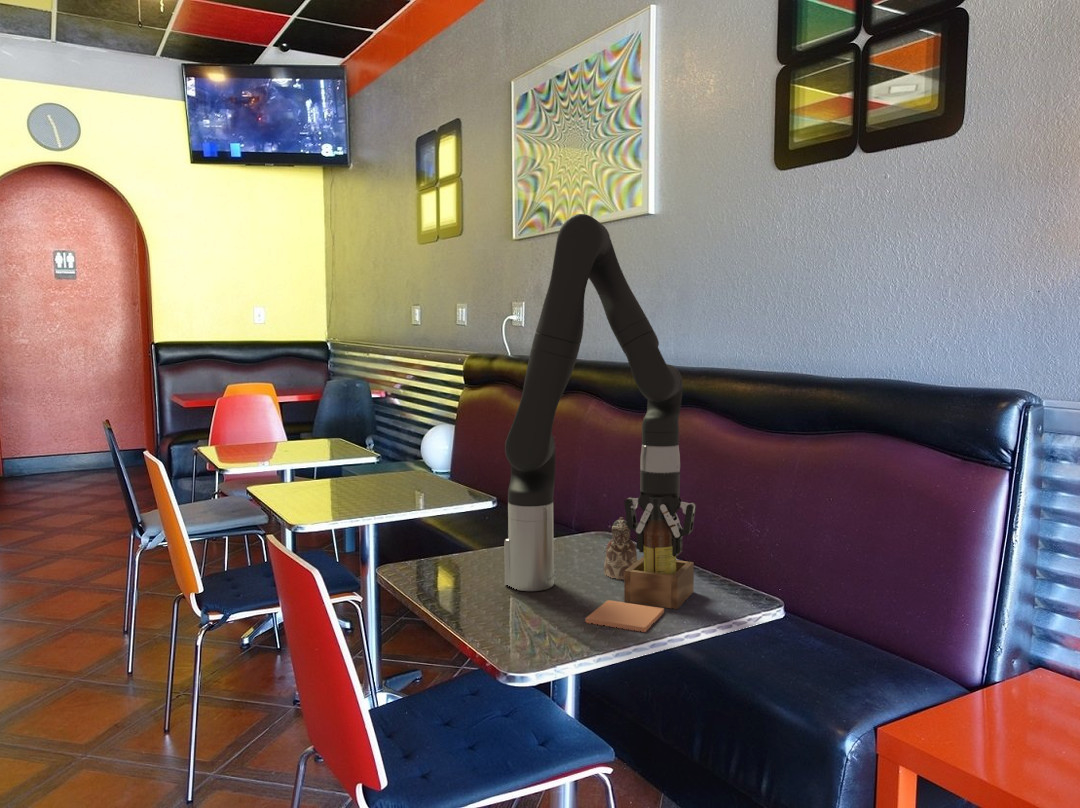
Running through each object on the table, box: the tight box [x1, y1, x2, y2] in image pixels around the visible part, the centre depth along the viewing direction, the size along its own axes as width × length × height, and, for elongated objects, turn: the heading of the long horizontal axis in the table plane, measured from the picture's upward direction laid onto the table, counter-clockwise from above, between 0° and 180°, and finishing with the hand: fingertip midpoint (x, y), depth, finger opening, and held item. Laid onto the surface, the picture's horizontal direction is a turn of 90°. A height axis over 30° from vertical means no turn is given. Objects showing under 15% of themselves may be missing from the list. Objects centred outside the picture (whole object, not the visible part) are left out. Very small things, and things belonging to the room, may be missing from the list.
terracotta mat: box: [584, 599, 665, 633], centre depth 141 cm, size 11×11×1 cm
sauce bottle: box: [643, 497, 677, 575], centre depth 152 cm, size 6×6×20 cm
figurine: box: [603, 516, 638, 580], centre depth 167 cm, size 7×7×12 cm
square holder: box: [623, 555, 695, 610], centre depth 152 cm, size 10×11×6 cm
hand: (659, 553), depth 152 cm, fingers closed on sauce bottle, 6 cm apart
